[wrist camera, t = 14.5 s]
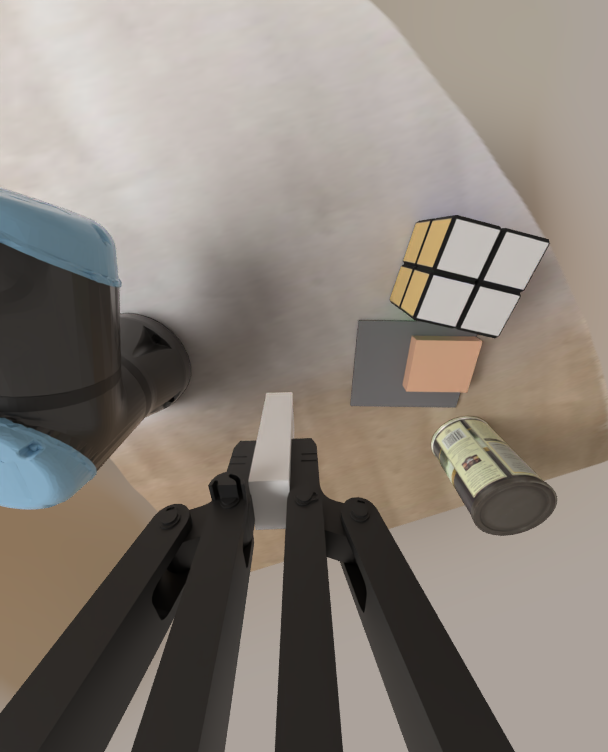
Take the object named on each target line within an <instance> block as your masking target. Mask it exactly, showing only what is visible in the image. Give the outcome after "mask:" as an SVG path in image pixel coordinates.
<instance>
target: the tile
mask: <svg viewBox="0 0 608 752" xmlns="http://www.w3.org/2000/svg"><path fill="white" fill-rule="evenodd" d="M482 342H483V341H482V340H480V339H478V338H477V337H474V336H411V342H410V347H409V353H408V358H407V363H406V369H405V374H404V379H403V387H404V388H405V390H406V392H467V391H468V388H469V385H470V381H471V378H472V375H473V372H474V368H475V365H476V362H477V358H478V355H479V352H480V349H481V345H482Z"/></svg>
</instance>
